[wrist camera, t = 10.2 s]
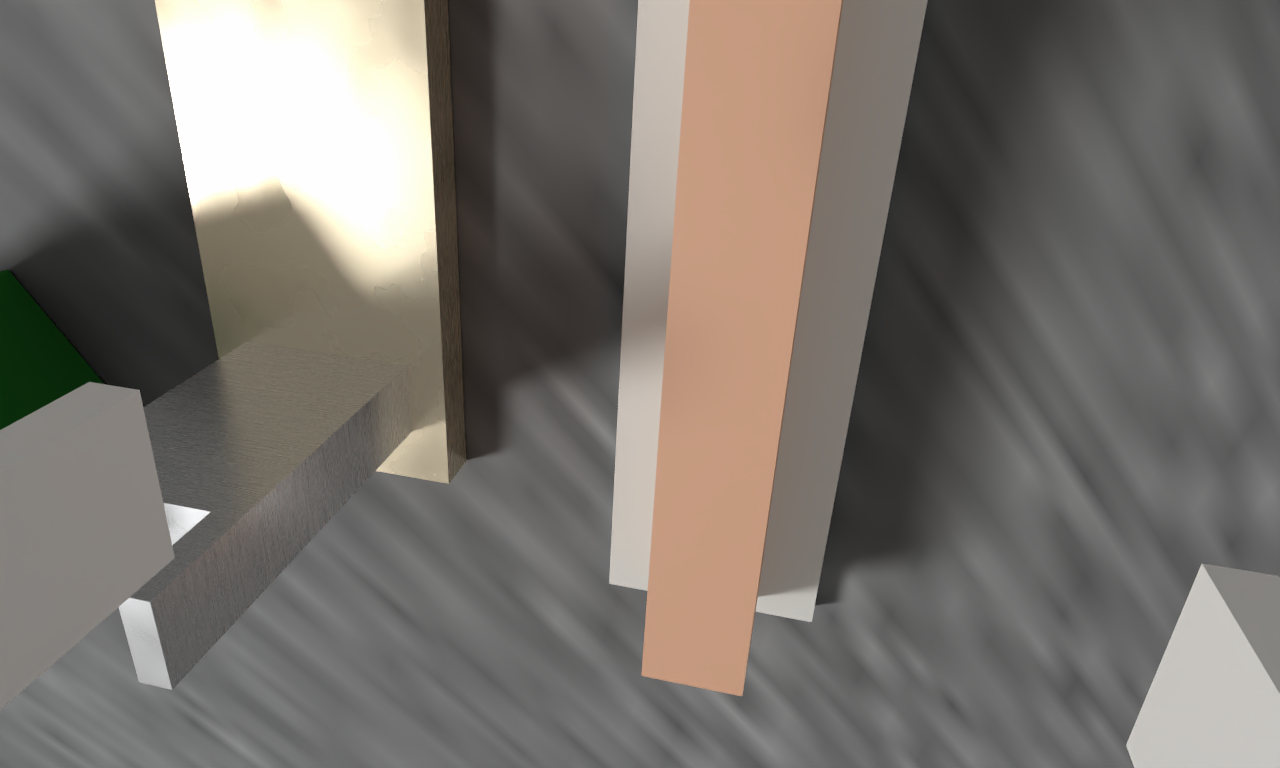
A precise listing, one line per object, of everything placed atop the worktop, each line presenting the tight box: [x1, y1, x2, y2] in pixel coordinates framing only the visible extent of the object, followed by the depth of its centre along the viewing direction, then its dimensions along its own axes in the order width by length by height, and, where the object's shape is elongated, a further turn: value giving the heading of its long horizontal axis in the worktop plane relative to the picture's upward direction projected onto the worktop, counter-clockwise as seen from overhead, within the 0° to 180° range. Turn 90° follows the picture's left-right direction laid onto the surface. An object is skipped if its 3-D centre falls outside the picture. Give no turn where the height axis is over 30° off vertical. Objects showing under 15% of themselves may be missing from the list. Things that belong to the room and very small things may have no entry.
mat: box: [609, 0, 928, 622], centre depth 24 cm, size 27×7×1 cm, turn 177°
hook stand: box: [119, 0, 466, 690], centre depth 20 cm, size 24×8×13 cm, turn 177°
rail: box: [642, 0, 843, 696], centre depth 22 cm, size 26×3×4 cm, turn 177°
